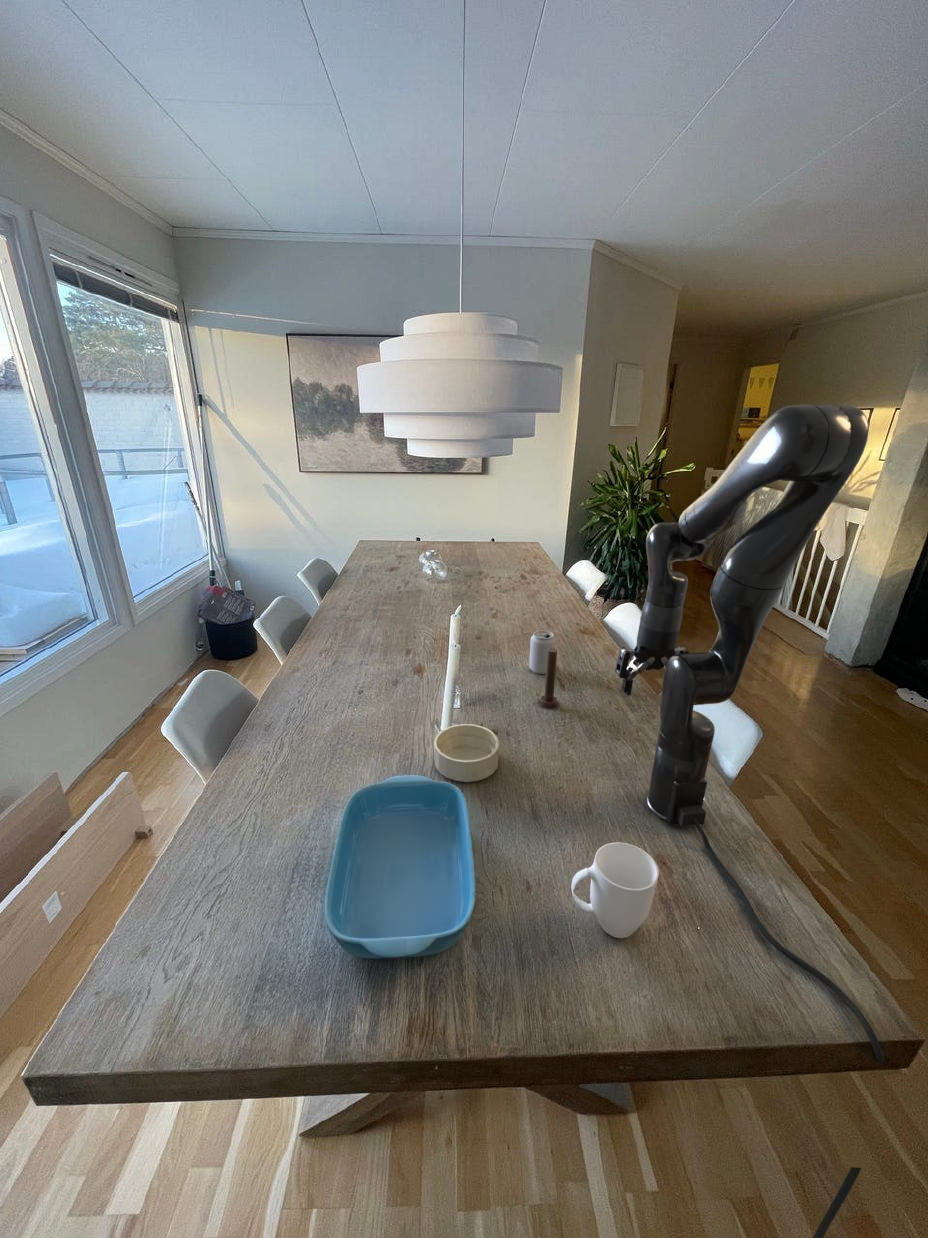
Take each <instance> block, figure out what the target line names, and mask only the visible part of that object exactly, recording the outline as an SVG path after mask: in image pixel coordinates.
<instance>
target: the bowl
mask: <svg viewBox="0 0 928 1238" xmlns="http://www.w3.org/2000/svg"><path fill="white" fill-rule="evenodd" d="M499 760H500V741H499V738H498V736H497V735H496V734H495V732H494V731H492V730H491V729H489V728H487V727H485V726H482V725H478V724H473V723H471V724H470V723H461V724H454V725H450V726H447V727H446V728H444V729H441V730H440V731H439V732H438V733H437V734H436V736H435V739H434V740H433V762H434V767H435V769H436V770H437V772H438V773H439V774H441V775H442V776H443V777H445V778H447V779H450V780H453V781H456V782H465V783H470V782H471V783H472V782H478V781H481V780H484V779H487V778H489V777H490V776H491V775H493V774H494V773H495V771H496V770H497V769H498V767H499V762H500V761H499Z"/></svg>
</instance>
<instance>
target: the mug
mask: <svg viewBox="0 0 928 1238" xmlns="http://www.w3.org/2000/svg"><path fill="white" fill-rule="evenodd" d="M659 874H660V871H659V867H658V864H657V862H656V861H655V859H654V858H653V857H652V856H651V855H650V854H649V853H647V851H645V850H644V849H643V848H640V847H638V846H636V845H633V844H631V843H627V842H618V841H617V842H616V841H615V842H609V843H606V844H603V845H602V846H600V847H599V848H598V849H597V851H596V853H595V855H594V860H593V863H592V865H591V866H590V867H584V868H583V869H581V870H579V871H577V872H576V873H575V874H574V875H573V878H572V880H571V884H570V886H571V887H570V888H571V889H570V890H571V896H572V899H573V902H574V903H575V904H576V906H577V907H578V908H580V909H581V910H583V911H584V912H585V913H590V914H593V915H594V916H595V917H596V919H597V920H598V922H599V924H600V926H601V928H602V930H603V931H604V932H605V933H606V934H608V935H610V936H611V937H613V938H616V939H626V938H629V937H631V936H632V934H634V933H635V932H636V931H637V930H638V929H639V928H640V927H641V926H642V925H643V924H644V923H645V921H646V920H647V918H648V916H649V914H650V911H651V908H652V904H653V901H654V897H655V893H656V888H657V884H658V880H659V876H660V875H659ZM586 878H590V886H589V887H590V888H589V899H590V903H587V902H586V901H583V900H582V899H581V898H580V897H578V896H577V895H576V894H575V892H574V890H575V887H576V885H578V883H579V882H581V881H582V880H585V879H586Z"/></svg>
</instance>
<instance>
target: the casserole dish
mask: <svg viewBox="0 0 928 1238" xmlns="http://www.w3.org/2000/svg"><path fill="white" fill-rule="evenodd" d="M470 821H471V820H470V813H469V808H468V803H467V799H466V796H465V795H464V793H463V792H462V790H461V789H460V788H459V787H458V786H456V785H454V784H452V783H450V782H446V781H440V780H434V779H431V778H429V777H426V776H424V775H417V774H407V775H396V776H391V777H389V778H386V779H385V780H383V781H381V782H377V783H373V784H368V785H366V786H364V787H362V788H360V789H358V790H357V791H355V792H354V793H353V794H352V795H351V796H350V798H349V799H348V801H347V802H346V804H345V807H344V808H343V811H342V815H341V818H340V822H339V826H338V830H337V835H336V840H335V844H334V849H333V855H332V859H331V862H330V863H331V864H330V869H329V874H328V879H327V883H326V889H325V897H324V908H323V909H324V919H325V924H326V927H327V929H328V931H329V932H330V934H331V935H332V936H333V938H335V940H336V942H337V943H338V945H339V946H340V947H341V948H342V949H343V950H344V951H345V952H346V953H347V954H349V955H350V956H353V957H356V958H360V959H398V958H399V959H400V958H416V957H417V958H418V957H425V956H431V955H436V954H439V953H442V952H445V951H447V950H449V949H450V948H452V947H453V946H454V945H455V944H456V943H457V942H458V941H459V940H460V939H461V937H462V936H463V934H464V933H465V930H466V928H467V926H468V923H469V921H470V919H471V917H472V915H473V912H474V908H475V903H476V872H475V871H476V870H475V862H474V852H473V851H474V850H473V843H472V842H473V841H472V831H471V822H470Z"/></svg>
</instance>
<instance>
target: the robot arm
mask: <svg viewBox="0 0 928 1238" xmlns="http://www.w3.org/2000/svg"><path fill="white" fill-rule="evenodd" d="M869 425H870V424H869V420H868V418H867V415H866V414H865V412H864V411H863V410H862V409H860V408H859V407H857V406H854V405H849V404H847V405H846V404H813V403H812V404H805V403H804V404H802V403H801V404H800V403H799V404H790V405H787V406H783V407H781V408H779V409H777V410H776V411H774V412H773V413H772V414H770V415H769V416H768V417H767V418H766V419H765V420H763V422H762V424H760V426H759V427H757V428H756V430H755V431H754V433H752V435H751V436H750V438H749V439H748V440H747V442H746V443H745V444H744V445H743V446H742V448H741V449H740V450H739V452H738V453H737V454H736V456H735V457H734V458H733V459H732V460H731V462H730V463H729V465H728V466H727V467H726V469H725V470H724V471H723V472H722V474H720V476H719V478H718V479H717V480H716V481H715V482H714V483H713V484H712V485H711V486H710V487H709V488H708V489H707V490H705V491H704V493H702V494H701V495H700V496H698V498H697V499H695V500H694V501H693V502H692V503H691V504H689V506H687V507H686V508H685V509H684V510H683V511H682V513H681V514H680V516H679V520H678V522H658V523H656V524H654V525H653V526H652V527H651V528H650V530H649V531H648V532H647V534H646V535H647V536H646V538H645V549H646V558H647V566H648V568H647V569H648V584H647V587H646V588H647V589H646V594H645V599H644V603H643V605H642V610H641V614H640V617H639V625H638V630H637V636H636V645H635V647H634V648H633V649H632V648H631V649H630V648H626V647H625V646H622V647H620V648H619V651H618V656H617V660H616V664H615V669H614V672H615V673H616V674H617V676H618V677H619V679H622V682H621V687H620V688H621V690H622V692H623V693H624V694H625V696H629V697H630V696H631V695H632V690H633V684H634V679H635V678H636V677H637V676H638V675H640V674H642V673H643V672H644V671H652V670H656V671H661V670H662V669H663V675H662V685H661V696H660V702H659V717H660V723H659V730H658V735H657V740H656V746H655V753H654V759H653V765H652V770H651V776H650V782H649V788H648V794H647V797H646V805H647V808H648V810H649V811H650V812H651V813H652V814H653V815H654V816H656V817H658V818H659V819H660V820H663V821H664V822H666V823H667V824H668V826H675V825H680V827H681V828H683V827H684V828H685V827H692V826H695V828H696V831H697V832H698V833H699V834H700V837H701V840H702V842H703V844H704V848H705V849H706V852H707V853H708V855H709V856H710V858H711V859H712V861H713V863H714V864H715V865H716V867H717V868H718V869H719V870H720V872H721V873H722V874H723V875H724V876H725V878H726V879H727V881H728V882H729V884H731V885H732V887H733V888H734V890H735V891H736V893H737V894H738V896H739V897H740V899H741V901H742V903H743V904H744V907H745V908H746V910H747V912H748V915H749V917H750V918H751V919H752V922H753V923H754V924H755V926H756V927H757V929H758V930H759V931H760V933H761V934H762V935H763V937H764V938H765V939H766V940H767V941H768V942H769V943H770V944H771V945H772V946H773V947H774V948H775V949H776V950H778V952H780V953H781V954H782V955H783V956H785V957H786V958H788V959H789V960H790V961H792V962H793V963H795V964H796V965H798V966H800V967H801V968H803V969H804V970H806V971H807V972H808V973H810V974H811V975H813V976H814V977H815V978H817V979H818V980H820V981H821V982H822V983H823V984H825V986H827V987H828V988H829V989H830V990H832V992H833V993H834V994H835V995H837V997H838V998H839V999H840V1000H841V1001H842V1002H843V1003H844V1004H845V1005H846V1006H847V1008H848V1009H850V1011H851V1012H852V1013H853V1014H854V1016H855V1017H856V1018H857V1019H858V1021H859V1022H860V1024H861V1026H862V1027H863V1029H864V1032H865V1034H866V1035H867V1037H868V1040H869V1041H870V1044H871V1047H872V1049H873V1052H874V1053H875V1054H874V1055H875V1057H876V1059H877V1061H878V1062H880V1063H882V1064H885V1063H886V1059H885V1058H886V1057H885V1055H884V1052H883V1049H882V1047H881V1044H880V1041H879V1039H878V1037H877V1035H876V1033H875V1031H874V1029H873V1027H872V1026H871V1024H870V1023H869V1021H868V1020H867V1018H866V1016H865V1015H864V1014H863V1012H862V1011H861V1009H859V1008H858V1007H857V1005H856V1004H855V1003H854V1002H853V1001H852V1000H851V999H850V998H849V997H848V996H847V995H846V993H844V991H843V990H841V988H840V987H838V985H837V984H836V983H834V982H833V981H832V980H831V979H830V978H829V977H827V975H825V974H824V973H822V972H821V971H819V970H818V969H817V968H815V967H813V966H812V965H810V964H809V963H808V962H806V961H804V960H803V959H801V958H800V957H799V956H797V955H795V954H794V953H792V952H791V951H790V950H788V949H787V948H785V947H784V946H783V945H782V944H781V943H779V942H778V941H777V940H776V938H774V936H772V934H771V933H770V932H769V931H768V930H767V929H766V927H765V926H764V924H762V922H761V921H760V919H759V917H758V916H757V914H756V912H755V910H754V908H753V907H752V905H751V903H750V901H749V899H748V897H747V896H746V894H745V892H744V891H743V889H742V888H741V886H740V885H739V883H738V882H737V881H736V879H734V876H733V875H731V874H730V872H729V871H728V870H727V869H726V868H725V866H724V865H723V863H721V861H720V860H719V858H718V857H717V856H716V854H715V852H714V851H713V849H712V846H711V845H710V841H709V839H708V836H707V835H706V832H705V831H704V829H703V827H702V826H701V825H704V824H705V819H706V815H707V811H706V810H705V809H704V808H703V804H704V801H705V795H706V790H707V786H708V781H707V780H706V774H707V769H708V764H709V760H710V755H711V752H712V751H711V750H712V746H713V741H714V737H715V732H716V731H715V730H716V729H715V728H716V727H715V725H714V723H713V721H712V720H711V719H710V718H708V716H706V715H705V714H702V713H701V712H699V711H696V710H694V706H704V705H716V704H722V703H725V702H726V701H728V700H729V699H731V698H732V696H733V695H734V693H735V692H736V690H737V688H738V685H739V683H740V680H741V678H742V675H743V673H744V671H745V667H746V664H747V662H748V660H749V657H750V656H749V655H750V654H751V652H752V649H753V647H754V644H755V643H756V640H757V638H758V637H759V634H760V632H761V630H762V629H763V626H764V624H765V622H766V620H767V618H768V616H769V614H770V612H771V610H772V609H773V607H774V606H775V604H776V603H777V600H778V598H779V596H780V595H781V593H782V591H783V589H784V588H785V585H786V584H787V581H788V579H789V578H790V575H791V573H792V571H793V569H794V567H795V565H796V563H797V561H798V559H799V557H800V556H801V554H802V552H803V550H804V549H805V547H806V545H807V543H808V542H809V540H810V538H811V536H812V535H813V534H814V531H815V530H816V528H817V526H818V524H819V523H820V521H821V520H822V518H823V517H824V516H825V514H826V512H827V511H828V509H829V508H830V506H831V505H832V503H833V502H834V500H835V499H836V498H837V496H838V495H839V493H840V491H841V490H842V488H843V487H844V486H845V484H846V482H847V481H848V480H849V478H850V476H852V474H853V472H854V470H855V469H856V467H857V465H858V464H859V462H860V460H861V458H862V456H863V454H864V451H865V448H866V446H867V444H868V443H867V442H868V438H869V434H870V429H869V428H870V427H869ZM779 481H782V482H788V483H787V485H786V486H785V488H784V490H783V492H782V493H781V495H780V497H779V499H778V500H777V501H776V502H775V504H774V505H773V506H772V507H771V508H770V509H769V511H767V512H766V513H765V514H764V515H763V516H762V517H761V518H760V519H759V520H758V521H756V523H753V525H751V526H750V527H749V528H748V529H747V530H745V532H744V533H742V535H740V536H739V537H738V538H737V539H736V540H735V542H734V543H733V544H731V545H730V547H729V548H728V549H727V550H726V552H725V553H724V554H723V557H722V559H721V561H720V564H719V566H718V568H717V571H716V573H715V575H714V578H713V581H712V583H711V585H710V590H709V595H710V596H709V597H710V603H711V607H712V610H713V613H714V615H715V619H716V622H717V624H718V633H717V636H716V638H715V641H714V643H713V645H712V646H711V648H710V649H709V650H708V651H702V652H690V651H688V650H687V648H685V647H684V646H683V645H679V646H678V647H677V645H678V644H677V643H678V639H679V635H680V630H681V626H682V620H683V614H684V603H685V599H686V595H687V590H688V585H689V580H688V577H687V575H686V574H685V573H683V572H681V571H677V570H674V569H670V567H669V563H670V562H674V561H678V562H679V561H681V562H683V561H687V562H688V561H694V560H697V559H700V558H701V557H703V556H704V555H705V554H706V553H707V552H708V550H709V548H710V547H711V545H712V544H713V542H714V541H715V540H716V538H718V537H720V536H721V535H722V534H724V533H725V532H726V531H728V530H729V529H731V528H732V527H734V526H735V525H736V524H737V523H738V522H740V521H741V519H742V518H743V516H744V515H745V514H746V512H747V509H748V507H749V502H750V497H751V495H752V494H754V493H755V492H757V491H759V490H761V489H762V488H764V487H766V486H768V485H770V484H773V483H775V482H779ZM676 647H677V648H676ZM632 657H634V658H633V659H632ZM629 661H630V662H629ZM638 664H639V665H638ZM861 1170H862V1167H857V1166H856V1167H853V1166H850V1169H849V1171H848V1172H847V1175H846V1176H845V1178H844V1180H843V1182H842V1184H841V1185H840V1187H839V1189H838V1191H837V1193H836V1194H835V1197H834V1198H833V1200H832V1202H831V1204H830V1205H829V1207H828V1209H827V1210H826V1212H825V1214H824V1216H823V1218H822V1220H821V1221H820V1223H819V1225H818V1227H817V1229H816V1231H815V1232H814V1234H813V1237H812V1238H824V1237H825V1235H826V1233H827V1231H828V1230H829V1228H830V1227H831V1225H832V1223H833V1221H834V1219H835V1218H836V1216H837V1215H838V1212H839V1210H840V1209H841V1207H842V1205H843V1204H844V1203H845V1200H846V1199H847V1197H848V1196H849V1194H850V1191H851V1190H852V1188H853V1186H854V1184H855V1182H856V1181H857V1178H858V1177H859V1175H860V1173H861Z"/></svg>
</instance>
